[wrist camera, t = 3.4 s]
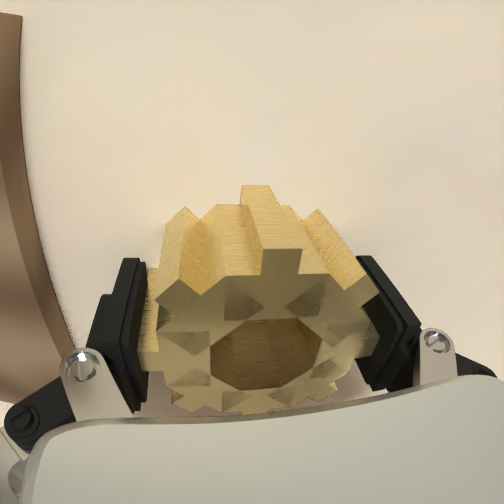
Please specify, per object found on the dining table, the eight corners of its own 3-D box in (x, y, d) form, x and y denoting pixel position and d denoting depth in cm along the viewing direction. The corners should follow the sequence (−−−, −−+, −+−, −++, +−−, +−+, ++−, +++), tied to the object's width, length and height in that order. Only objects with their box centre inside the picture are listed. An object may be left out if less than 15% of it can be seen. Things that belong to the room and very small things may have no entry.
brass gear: (319, 338, 15) (345, 407, 12) (159, 345, 14) (155, 422, 10) (357, 190, 11) (417, 248, 8) (142, 185, 10) (114, 249, 7)
